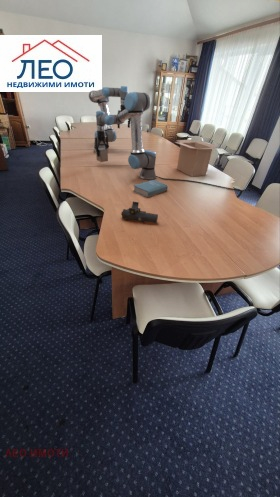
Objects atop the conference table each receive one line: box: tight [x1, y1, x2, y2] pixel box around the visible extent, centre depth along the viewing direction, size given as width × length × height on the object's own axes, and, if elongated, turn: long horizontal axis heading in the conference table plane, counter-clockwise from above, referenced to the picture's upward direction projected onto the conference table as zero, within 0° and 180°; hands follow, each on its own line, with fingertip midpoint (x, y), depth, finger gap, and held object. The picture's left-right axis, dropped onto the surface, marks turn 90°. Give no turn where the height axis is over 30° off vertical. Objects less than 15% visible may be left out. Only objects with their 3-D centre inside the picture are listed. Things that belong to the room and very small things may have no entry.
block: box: [95, 148, 109, 163], centre depth 220 cm, size 8×8×11 cm
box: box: [174, 139, 219, 177], centre depth 219 cm, size 44×36×27 cm
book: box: [133, 179, 169, 198], centre depth 177 cm, size 23×16×5 cm
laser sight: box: [120, 201, 159, 224], centre depth 136 cm, size 10×22×10 cm, turn 78°
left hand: (123, 128), depth 240 cm, fingers open, 13 cm apart
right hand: (102, 155), depth 221 cm, fingers closed on block, 8 cm apart
